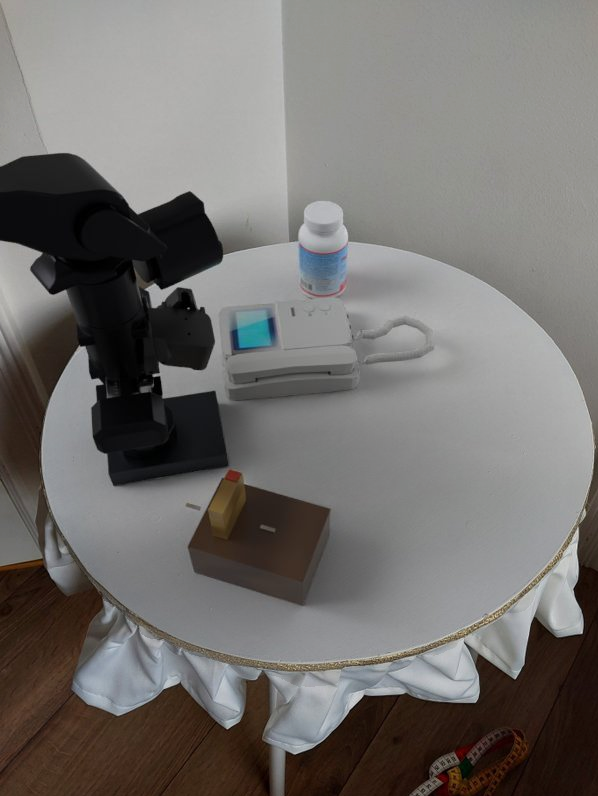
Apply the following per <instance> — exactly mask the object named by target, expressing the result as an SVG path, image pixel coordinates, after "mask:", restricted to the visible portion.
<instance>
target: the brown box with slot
mask: <svg viewBox="0 0 598 796" xmlns="http://www.w3.org/2000/svg"><path fill="white" fill-rule="evenodd" d="M223 479H224V477H222V478H221V479H220V480H219V483H218V485H217V487H216V488H215V490H214V493H213V495H212V497H211V499H210V500H209V503H208V505H207V506H206V509H205V511H204V512H203V514H202V516H201V519H200V521H199V523H198V524H197V527H196V528H195V530H194V533H193V535H192V536H191V538H190V540H189V543H188V544H187V550H188V555H189V557H190V561H191V565H192V569H193V572H194V573H196V574H199V575H201V576H204V577H205V576H206V577H209V578H212V579H214V580H219V581H222V582H225V583H228V584H230V585H234V586H238V587H241V588H243V589H248V590H250V591H254V592H256V593H260V594H263V595H266V596H270V597H273V598H276V599H279V600H283V601H285V602H289V603H293V604H295V605H299V606H304V605H305V602H306V600H307V597H308V594H309V592H310V589H311V586H312V583H313V580H314V578H315V575H316V572H317V571H318V568H319V564H320V562H321V559H322V557H323V554H324V551H325V549H326V545H327V543H328V541H329V538H330V531H331V530H330V528H331V527H330V526H331V511H332V510H331V508H329V507H327V506H323V505H319V504H316V503H313V502H309V501H305V500H303V499H299V498H295V497H292V496H288V495H284V494H281V493H279V492H274V491H270V490H267V489H264V488H260V487H258V486H257V487H256V486H254V485H250V484H246V483H244V486H245V494H246V502H245V504H244V506H243V508H242V510H241V512H240V514H239V516H238V519H237V521H236V523H235V525H234V527H233V529H232V531H231V533H230V535H229V538H228V539H227V540H225V539H222V538H219V537H216V536H213V531H212V526H211V521H210V516H209V512H208V509H209V507H210V505H211V503H212V501H213V499H214V497H215V495H216V493H217V491H218V489H219V487H220V485H221V483H222V481H223ZM185 507H186V508H189V509H193V510H196V511H201V508H202V507H201V506H199V505H196V504H192V503H189V502H186V504H185Z"/></svg>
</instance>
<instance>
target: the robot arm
mask: <svg viewBox="0 0 598 796" xmlns="http://www.w3.org/2000/svg"><path fill="white" fill-rule="evenodd" d="M0 242H5V243H12V244H17V245H20V246H22V247H26V248H28V249H31V250H34V251H36V252H39V253H41V255H39V256H38V257H37V258H36V259H35V260H34V261H33V263H32V264H31V265H30V267H29V270H30V272H31V274H32V275H33V276H34V277H35V279H36V280H37V281H38V282H39V283H40V285H41V286H42V287H43V288H44V289H45V290H46V291H47V292H48V294H49V295H52V296H54V295H58V294H59V293H62V292H64V291H66V295H67V297H68V301H69V303H70V306H71V309H72V312H73V316H74V318H75V321H76V339H77V342H78V344H79V347H80V348H81V347H85V351H86V353H87V356H88V357H87V359H88V360H87V361H88V362H87V363H88V373H89V376H90V379H91V380H97V379H98V380H100V382H101V384H96V385H95V395H96V402H95V403H94V404H93V405H92V406H91V408H90V410H91V412H90V414H91V415H90V416H91V431H92V432H91V433H92V439H93V442H94V444H95V448H96V450H97V451H99V452H100V453H102V454H104V455H107V453H113V452H119V451H125V450H131V449H137V448H143V447H149V446H156V445H162V444H164V443H165V442H166V441H167V440H168V439H169V433H168V425H167V417H166V412H165V406H164V402H163V395H164V392H163V384H162V377H161V375H158V374H161V373H160V372H161V371H160V364H161V365H163V366H165V367H166V366H167V367H176V368H186V369H192V370H194V371H204V370H206V368H207V367H208V365H209V361H210V359H211V357H212V353H213V351H214V347H215V344H216V339H215V334H214V327H213V322H212V319H211V317H210V315H208V313H207V312H206V308H205V306H200V307H198V306H197V301H196V298H195V295H194V292H193V289H192V288H186V287H180V286H178V287H176V288H175V289H173V291H172V292H171V293H170V294H168V296H167V297H166V298H165V300H164V301H161V304H159V305H157V307H153V304H152V299H151V294H150V291H148V290H147V289H145V288H143V287H141V286H139V282H138V279H137V275H138V276H139V278H140V279H141V280H142V281H143V282H144V283H146V284H150V283H152V282H153V283H154V284H155V285H156V286H157V287H158V288H159V289H160V290H161V291H163V290H165V289H168V288H170V287H173V286H174V285H177V284H179V283H182V282H184V281H186V280H188V279H190V278H192V277H194V276H196V275H199V274H200V273H203V272H205V271H208V270H209V269H212V268H214V267H216V266H218V265H220V264H221V263H222V262H223V259H224V248H223V244H222V242H221V240H219V236H218V234H217V232H216V229H215V226H214V225H213V223H212V221H211V219H210V218H209V216H208V214H207V213H206V209H205V202H204V201H203V200H201V199H200V198H199V197H198V196H197V195H196V194H194V193H193V192H192V191H190V190H188V191H186V192H184V193H181V194H179V195H177V196H175V197H174V198H173V199H171V200H169V201H167V202H165V203H161V204H160V205H157V206H154V207H152V208H149V209H147V210H144V211H142V212H140V213H137V212H136V211H135V210H134V209H133V208H131V206H130V205H129V203H128V201H127V200H126V198H125V197H124V195H122V194H121V192H119V191H118V190H117V188H115V187H114V186H113V185H112V184H111V183H110V182H108V181H107V180H106V179H105V177H104V176H102V175H101V174H100V173H99V172H98V171H97V170H96V168H94V167H93V166H92V165H91V164H90V163H89V162H88V161H86V159H84V158H83V157H81V156H79V155H77V154H73V153H70V152H57V153H45V154H34V155H24V156H20V157H18V158H16V159H14V160H12V161H9V162H8V163H6V164H3V165H0ZM136 274H137V275H136ZM154 375H156V376H154Z"/></svg>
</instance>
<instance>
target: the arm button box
mask: <svg viewBox="0 0 598 796" xmlns="http://www.w3.org/2000/svg"><path fill="white" fill-rule="evenodd" d="M217 396H218V395H217V391H216V390H210V391H203V392H197V393H190V394H183V395H177V396H170V397H164V398H163V402H164V406H165V412H166V417H167V425H168V433H169V439H168V440H167V441H166V442H165V443H164V444H162V445H156V446H149V447H143V448H137V449H131V450H125V451H119V452H113V453H107V454H106V455H107V456H106V457H107V471H108V477H109V479H110V482H111V484H112V486H113V487H114V486H115V487H116V486H121V485H126V484H134V483H138V482H144V481H151V480H156V479H157V480H158V479H163V478H169V477H173V476H174V477H175V476H179V475H187V474H191V473H197V472H203V471H208V470H215V469H220V468H221V469H222V468H226V467H230V463H229V455H228V451H227V446H226V440H225V434H224V433H225V432H224V429H223V423H222V418H221V411H220V407H219V406H220V405H219V400H218V397H217Z"/></svg>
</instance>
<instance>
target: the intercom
mask: <svg viewBox="0 0 598 796" xmlns="http://www.w3.org/2000/svg"><path fill="white" fill-rule="evenodd" d="M217 316H218V327H219V338H220V350H221V358H222V359H221V360H222V365H223V366H224V369H223V371H222V372H223V374H222V375H223V385H224V392H225V397H227V398H228V399H229V401H230V400H231V401H244V400H245V401H246V400H254V399H255V400H256V399H265V398H275V397H277V398H278V397H287V396H288V397H289V396H298V395H307V394H309V395H310V394H319V393H328V392H329V393H330V392H340V391H351V390H354V389H356V388H357V387H358V385H359V382H360V373H361V371H360V367H359V364H361V365H366V366H369V365H374V364H379V363H392V362H394V363H395V362H405V361H411V360H415V359H420V358H422V357H424V356H425V355H428V354H429V353H431V352H433V351H434V350H435V334H434V333H435V330H434V329H433V328H431V327H430V326H429V325H427V324H426V323H424V322H423V321H421V320H420V319H417V318H414V317H410V316H407V315H403V316H399V317H396V318H392V319H388V320H387V321H386V322H385V323H384V324H383V325H382V326H381V327H378V328H375V329H373V330H370V329H359V330H358V331H357V334H356V337H355V338H354V335H353V334H352V331H351V329H352V326H351V324H350V322H349V314H348V313H347V310H346V306H345V302H343V300H342V299H341V298H339V297H328V298H315V299H312V298H305V299H291V300H289V299H288V300H277V301H275V302H272V303H271V302H270V303H259V304H257V303H256V304H245V305H236V306H235V305H232V306H225V307H221V309H220V310H219V312H218V315H217ZM400 326H401V327H402V326H408V327H411V328H414V329H417V330H418V331H420V332H421V333H422V334H424V335H425V344H424V345H422V346H420V347H419V348H417V349H411V350H406V351H397V352H394V351H393V352H381V353H374V354H369V355H365V356H364V357H363V361H362V362H360V361H358V357H357V353H356V350H355V349H354V348H353V347H354V341H358V340H360V338H361V339H363V340H364V339H365V340H375V339H378V338H381V337H384V336H386V335H388V334H389V333H390V332H391V331H392V330H393V329H394V328H397V327H400ZM360 336H361V337H360Z"/></svg>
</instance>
